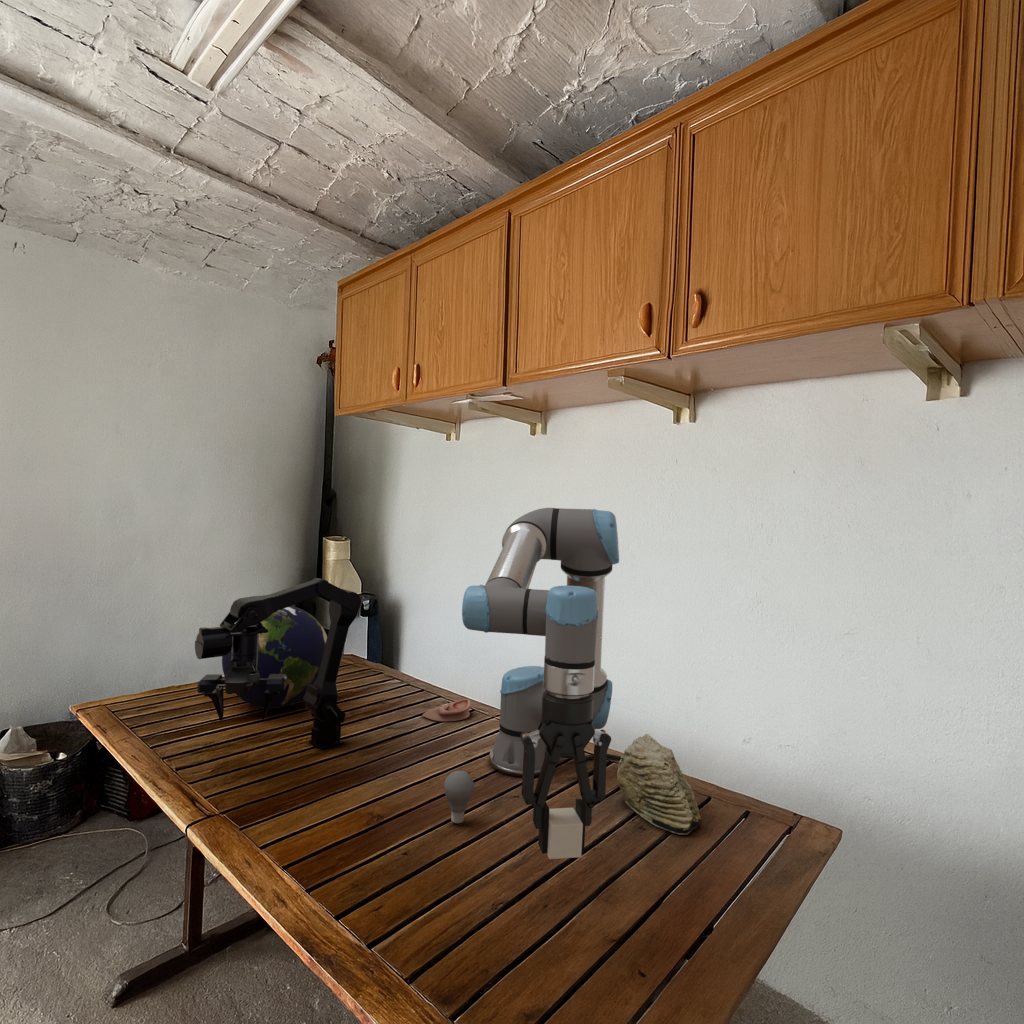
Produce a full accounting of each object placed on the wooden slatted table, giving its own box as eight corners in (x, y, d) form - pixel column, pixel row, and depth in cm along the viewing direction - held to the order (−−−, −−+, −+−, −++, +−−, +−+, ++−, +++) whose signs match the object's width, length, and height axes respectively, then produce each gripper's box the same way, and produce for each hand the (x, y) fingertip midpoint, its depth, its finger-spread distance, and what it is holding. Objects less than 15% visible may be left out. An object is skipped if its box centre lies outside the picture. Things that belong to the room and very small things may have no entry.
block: (549, 859, 91) (550, 825, 91) (541, 841, 96) (542, 808, 96) (581, 857, 92) (583, 823, 92) (571, 839, 97) (573, 807, 97)
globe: (289, 685, 209) (292, 594, 208) (348, 705, 191) (352, 606, 191) (199, 706, 185) (203, 604, 184) (258, 732, 167) (262, 619, 167)
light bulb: (442, 814, 128) (444, 765, 128) (472, 814, 129) (474, 765, 129) (441, 829, 122) (444, 778, 122) (472, 829, 123) (475, 778, 123)
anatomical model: (419, 705, 182) (432, 693, 194) (418, 719, 182) (431, 706, 194) (463, 710, 180) (474, 698, 191) (463, 724, 180) (473, 711, 191)
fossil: (629, 792, 142) (632, 725, 142) (706, 824, 129) (710, 751, 129) (606, 804, 135) (609, 735, 135) (684, 839, 122) (687, 763, 122)
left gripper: (191, 662, 138) (188, 733, 138) (281, 661, 141) (278, 731, 141) (205, 650, 149) (203, 716, 149) (289, 649, 152) (286, 714, 152)
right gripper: (513, 700, 88) (506, 865, 89) (634, 698, 92) (627, 857, 92) (504, 684, 96) (497, 837, 96) (616, 683, 99) (609, 830, 99)
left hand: (242, 719), depth 148 cm, fingers open, 9 cm apart
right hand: (560, 847), depth 94 cm, fingers closed on block, 5 cm apart
